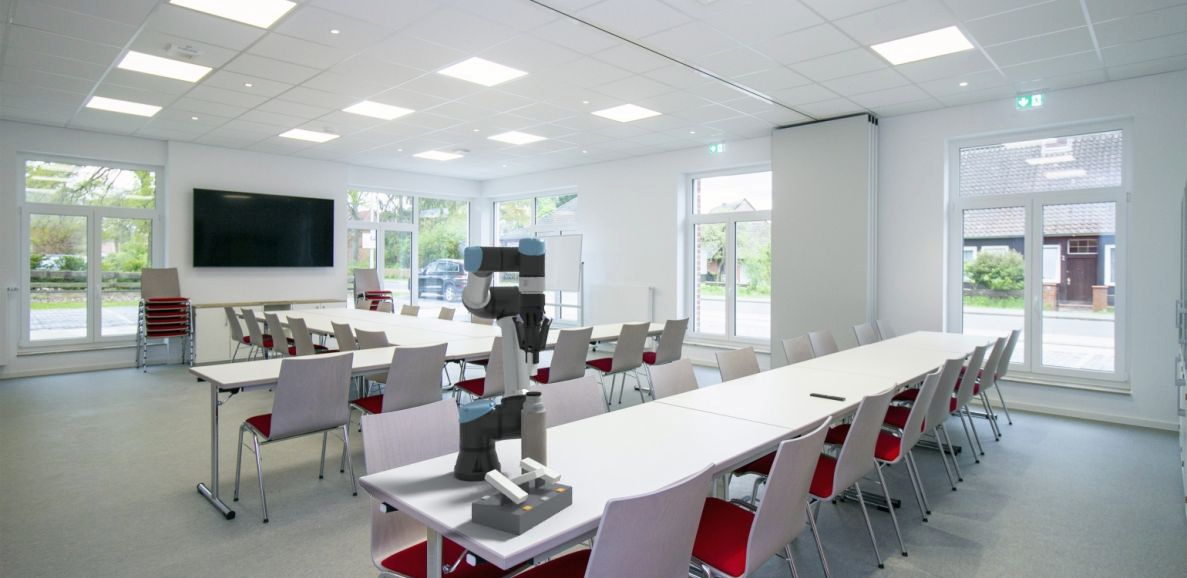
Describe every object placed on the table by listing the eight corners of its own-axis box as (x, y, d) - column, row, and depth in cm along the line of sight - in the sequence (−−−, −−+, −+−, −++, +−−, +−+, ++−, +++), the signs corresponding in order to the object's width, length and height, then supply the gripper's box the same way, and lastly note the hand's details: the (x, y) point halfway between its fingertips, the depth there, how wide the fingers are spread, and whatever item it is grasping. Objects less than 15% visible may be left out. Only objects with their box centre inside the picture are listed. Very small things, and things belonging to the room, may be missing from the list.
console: (471, 521, 160) (471, 491, 160) (527, 493, 180) (527, 466, 180) (519, 535, 152) (519, 503, 151) (572, 504, 172) (572, 476, 172)
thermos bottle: (522, 476, 195) (522, 389, 195) (547, 476, 196) (546, 389, 195) (520, 484, 187) (519, 394, 187) (546, 484, 188) (545, 394, 187)
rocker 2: (504, 488, 167) (502, 482, 167) (513, 484, 170) (511, 478, 170) (537, 478, 161) (534, 471, 161) (545, 474, 164) (542, 467, 165)
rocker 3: (519, 466, 174) (520, 460, 173) (526, 463, 177) (528, 457, 177) (552, 484, 168) (553, 478, 168) (559, 480, 171) (561, 474, 171)
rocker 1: (484, 478, 161) (486, 473, 160) (493, 475, 164) (495, 469, 163) (517, 504, 155) (519, 498, 155) (526, 499, 158) (528, 494, 158)
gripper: (505, 292, 173) (506, 375, 174) (542, 293, 166) (543, 379, 167) (522, 292, 179) (522, 371, 180) (558, 292, 173) (558, 375, 173)
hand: (532, 375), depth 173 cm, fingers closed
